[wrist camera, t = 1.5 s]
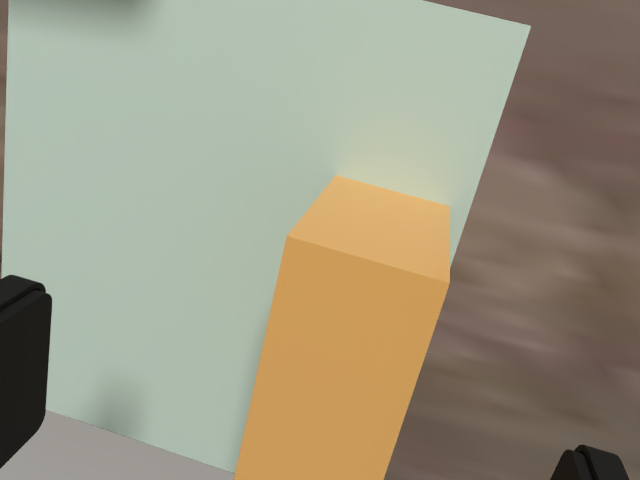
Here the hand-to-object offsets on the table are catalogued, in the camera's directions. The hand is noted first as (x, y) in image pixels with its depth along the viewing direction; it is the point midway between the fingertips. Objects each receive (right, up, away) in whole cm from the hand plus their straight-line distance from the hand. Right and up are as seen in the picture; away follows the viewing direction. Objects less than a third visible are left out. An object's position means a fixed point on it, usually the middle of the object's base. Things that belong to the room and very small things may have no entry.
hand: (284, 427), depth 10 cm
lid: (-2, +3, +7) cm, 8 cm away
